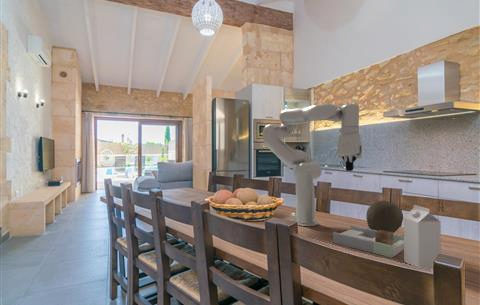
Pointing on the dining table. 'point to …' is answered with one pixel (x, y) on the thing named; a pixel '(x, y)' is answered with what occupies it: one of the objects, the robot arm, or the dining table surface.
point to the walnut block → (384, 237)
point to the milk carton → (421, 237)
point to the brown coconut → (384, 216)
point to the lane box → (368, 241)
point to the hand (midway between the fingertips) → (349, 170)
